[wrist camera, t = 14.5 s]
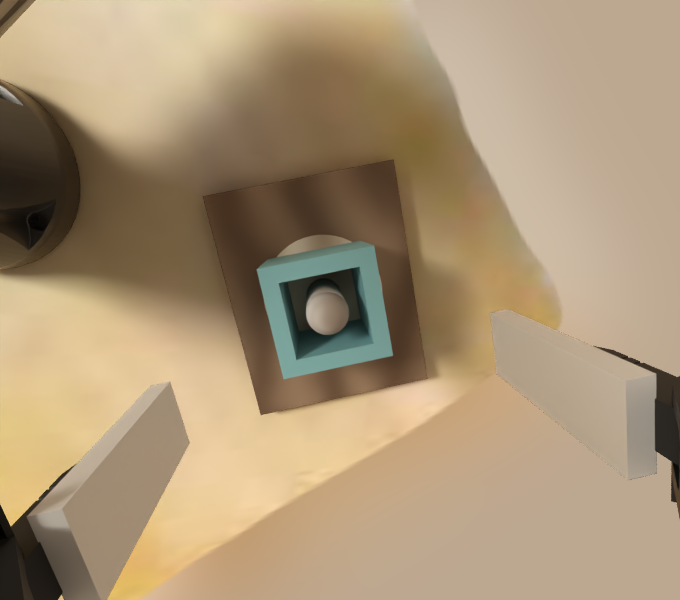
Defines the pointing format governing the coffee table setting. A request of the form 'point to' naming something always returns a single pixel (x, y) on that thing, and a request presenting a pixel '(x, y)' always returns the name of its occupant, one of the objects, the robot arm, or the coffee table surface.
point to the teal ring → (310, 346)
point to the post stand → (318, 276)
